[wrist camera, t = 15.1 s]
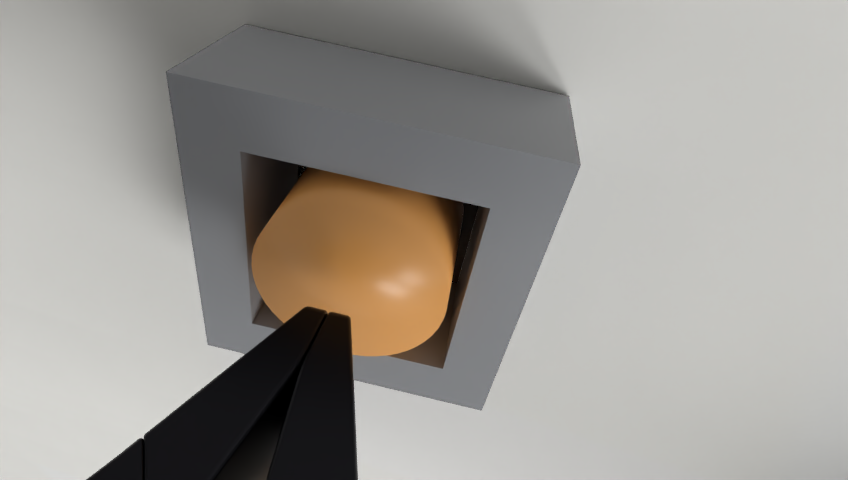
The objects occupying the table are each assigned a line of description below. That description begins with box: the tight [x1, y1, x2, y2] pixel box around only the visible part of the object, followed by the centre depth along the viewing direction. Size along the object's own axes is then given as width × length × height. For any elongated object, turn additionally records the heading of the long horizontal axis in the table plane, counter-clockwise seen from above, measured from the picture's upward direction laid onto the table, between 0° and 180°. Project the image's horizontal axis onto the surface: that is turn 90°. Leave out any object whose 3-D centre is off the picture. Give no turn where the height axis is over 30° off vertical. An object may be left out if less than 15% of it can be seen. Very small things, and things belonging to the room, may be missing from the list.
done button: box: [251, 167, 464, 356], centre depth 11 cm, size 4×4×3 cm
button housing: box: [166, 25, 581, 410], centre depth 12 cm, size 7×7×3 cm
